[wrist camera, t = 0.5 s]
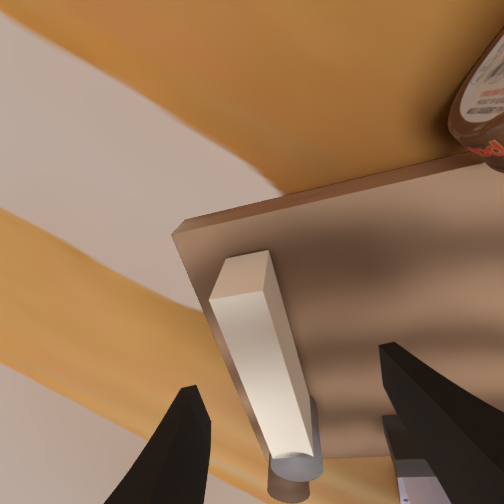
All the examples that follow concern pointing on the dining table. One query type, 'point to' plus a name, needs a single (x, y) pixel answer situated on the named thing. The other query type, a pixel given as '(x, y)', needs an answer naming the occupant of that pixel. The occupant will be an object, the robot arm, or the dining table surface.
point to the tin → (482, 107)
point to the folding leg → (268, 363)
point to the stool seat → (372, 293)
